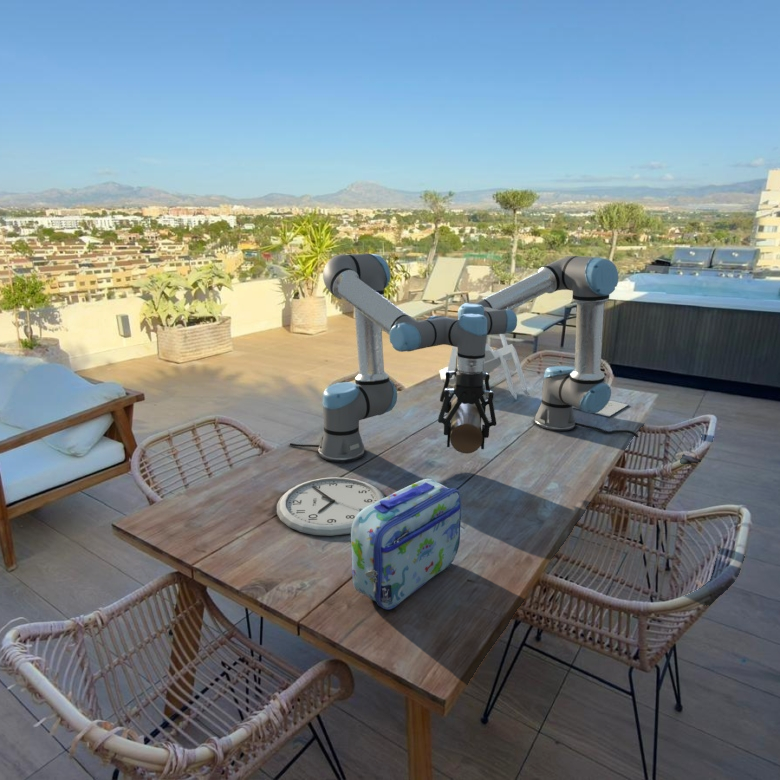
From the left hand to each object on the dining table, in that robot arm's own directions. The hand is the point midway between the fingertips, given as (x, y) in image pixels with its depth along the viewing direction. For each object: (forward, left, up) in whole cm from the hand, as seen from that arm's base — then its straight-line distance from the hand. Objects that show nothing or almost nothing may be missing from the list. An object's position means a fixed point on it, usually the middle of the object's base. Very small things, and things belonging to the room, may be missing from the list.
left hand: (465, 446), depth 151 cm
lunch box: (+7, -47, -13) cm, 49 cm away
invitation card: (+22, +100, -13) cm, 103 cm away
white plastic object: (-30, +90, -13) cm, 96 cm away
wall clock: (-26, -29, -13) cm, 41 cm away
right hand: (-8, +17, 0) cm, 19 cm away
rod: (-4, +9, 0) cm, 9 cm away
